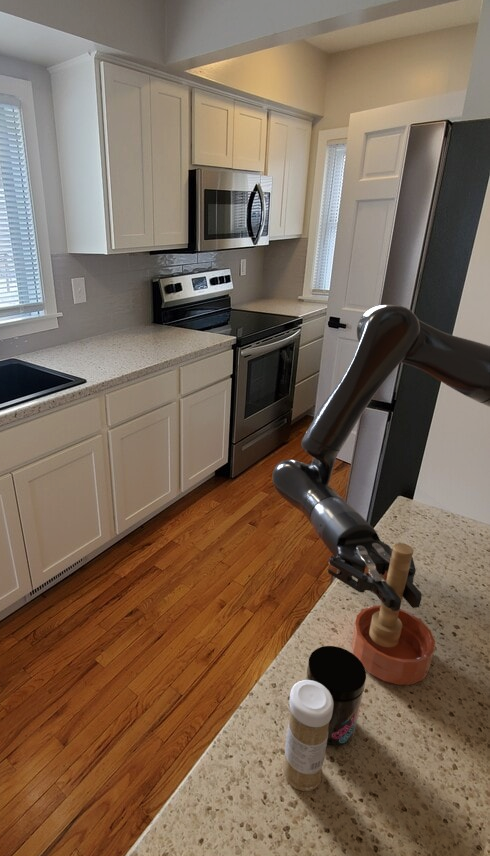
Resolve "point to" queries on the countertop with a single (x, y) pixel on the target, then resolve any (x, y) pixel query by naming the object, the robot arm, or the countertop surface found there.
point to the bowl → (394, 649)
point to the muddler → (386, 620)
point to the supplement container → (339, 689)
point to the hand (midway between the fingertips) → (407, 604)
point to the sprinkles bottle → (307, 734)
